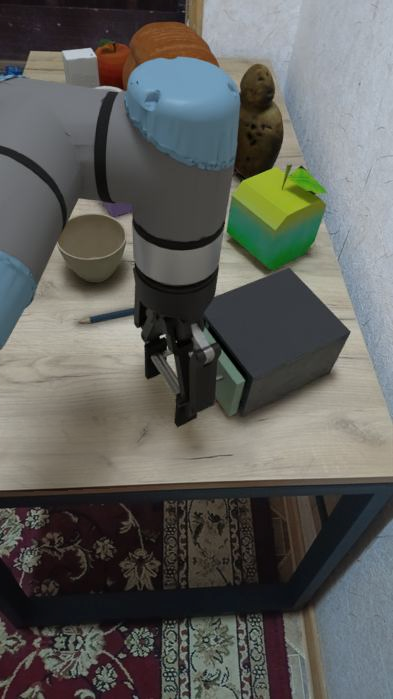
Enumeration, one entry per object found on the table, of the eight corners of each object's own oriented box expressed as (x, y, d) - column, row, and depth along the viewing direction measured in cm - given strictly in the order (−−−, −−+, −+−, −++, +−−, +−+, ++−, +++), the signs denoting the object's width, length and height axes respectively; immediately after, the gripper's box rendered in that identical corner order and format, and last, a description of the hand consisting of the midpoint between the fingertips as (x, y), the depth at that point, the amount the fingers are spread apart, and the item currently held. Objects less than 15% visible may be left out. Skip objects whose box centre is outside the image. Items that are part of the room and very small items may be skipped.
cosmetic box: (97, 107, 105) (91, 47, 96) (103, 117, 103) (97, 56, 94) (69, 111, 104) (60, 50, 94) (74, 121, 101) (66, 59, 92)
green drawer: (185, 438, 59) (189, 407, 53) (142, 369, 64) (141, 334, 59) (313, 374, 66) (328, 341, 60) (264, 317, 71) (273, 281, 65)
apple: (264, 275, 78) (284, 194, 66) (225, 240, 82) (237, 159, 70) (311, 250, 82) (338, 170, 70) (271, 218, 87) (290, 138, 75)
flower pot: (54, 259, 77) (46, 222, 71) (114, 243, 80) (111, 206, 74) (75, 302, 72) (68, 266, 66) (138, 283, 75) (137, 247, 69)
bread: (194, 95, 112) (200, 9, 99) (227, 145, 100) (239, 56, 87) (119, 101, 108) (114, 13, 94) (144, 155, 96) (142, 63, 82)
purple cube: (102, 202, 86) (99, 180, 83) (124, 196, 88) (123, 174, 84) (112, 217, 84) (110, 195, 80) (135, 210, 85) (135, 188, 82)
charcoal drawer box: (241, 418, 62) (253, 378, 55) (191, 347, 68) (196, 303, 61) (329, 373, 67) (351, 331, 60) (275, 311, 73) (289, 267, 66)
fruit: (145, 88, 112) (144, 40, 104) (111, 100, 108) (108, 51, 100) (119, 72, 116) (116, 25, 108) (85, 83, 111) (80, 34, 104)
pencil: (180, 306, 73) (79, 327, 69) (178, 301, 74) (77, 321, 70) (180, 302, 72) (78, 323, 69) (178, 297, 73) (77, 317, 69)
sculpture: (218, 157, 97) (231, 47, 81) (259, 155, 99) (279, 47, 83) (234, 199, 89) (252, 86, 73) (278, 196, 91) (305, 85, 75)
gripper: (278, 321, 40) (238, 447, 58) (161, 186, 49) (159, 330, 68) (198, 356, 37) (183, 476, 55) (91, 206, 47) (109, 350, 65)
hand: (170, 396), depth 61 cm, fingers closed on green drawer, 7 cm apart
